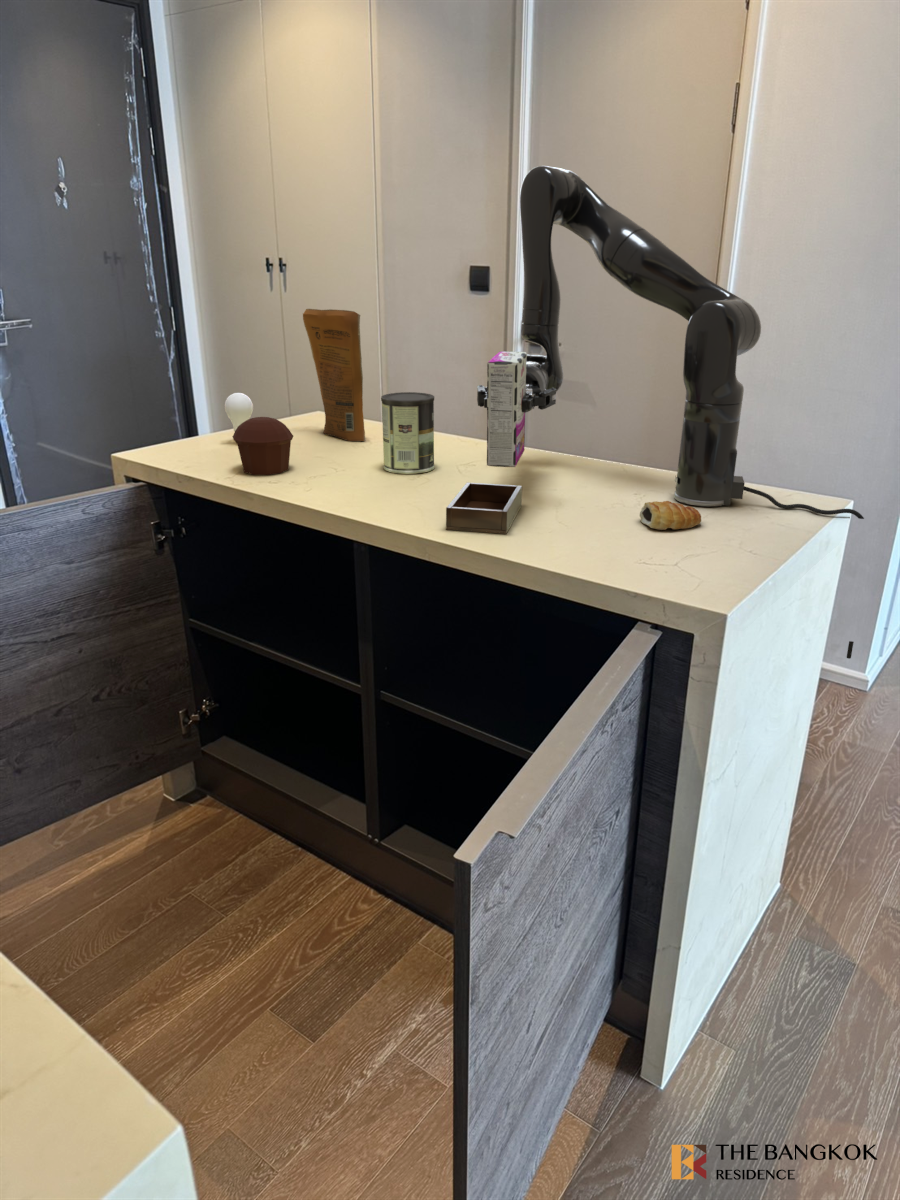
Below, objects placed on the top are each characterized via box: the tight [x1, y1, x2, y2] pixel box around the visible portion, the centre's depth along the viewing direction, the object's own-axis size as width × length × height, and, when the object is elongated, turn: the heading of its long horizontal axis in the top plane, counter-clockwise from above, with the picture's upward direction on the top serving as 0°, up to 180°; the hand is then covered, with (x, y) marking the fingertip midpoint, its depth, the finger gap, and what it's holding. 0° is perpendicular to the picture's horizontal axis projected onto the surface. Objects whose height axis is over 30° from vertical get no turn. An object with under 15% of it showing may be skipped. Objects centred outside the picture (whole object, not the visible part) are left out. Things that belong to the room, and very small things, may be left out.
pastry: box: [639, 500, 702, 531], centre depth 137 cm, size 9×7×4 cm
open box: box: [445, 481, 523, 535], centre depth 140 cm, size 10×16×4 cm, turn 167°
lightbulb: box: [224, 392, 254, 432], centre depth 190 cm, size 6×6×11 cm
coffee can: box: [380, 391, 435, 475], centre depth 169 cm, size 10×10×14 cm
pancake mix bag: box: [302, 308, 366, 442], centre depth 193 cm, size 7×19×28 cm, turn 40°
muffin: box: [232, 416, 294, 476], centre depth 168 cm, size 12×11×10 cm
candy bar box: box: [486, 350, 528, 468], centre depth 138 cm, size 11×5×16 cm, turn 168°
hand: (506, 405), depth 138 cm, fingers closed on candy bar box, 5 cm apart
